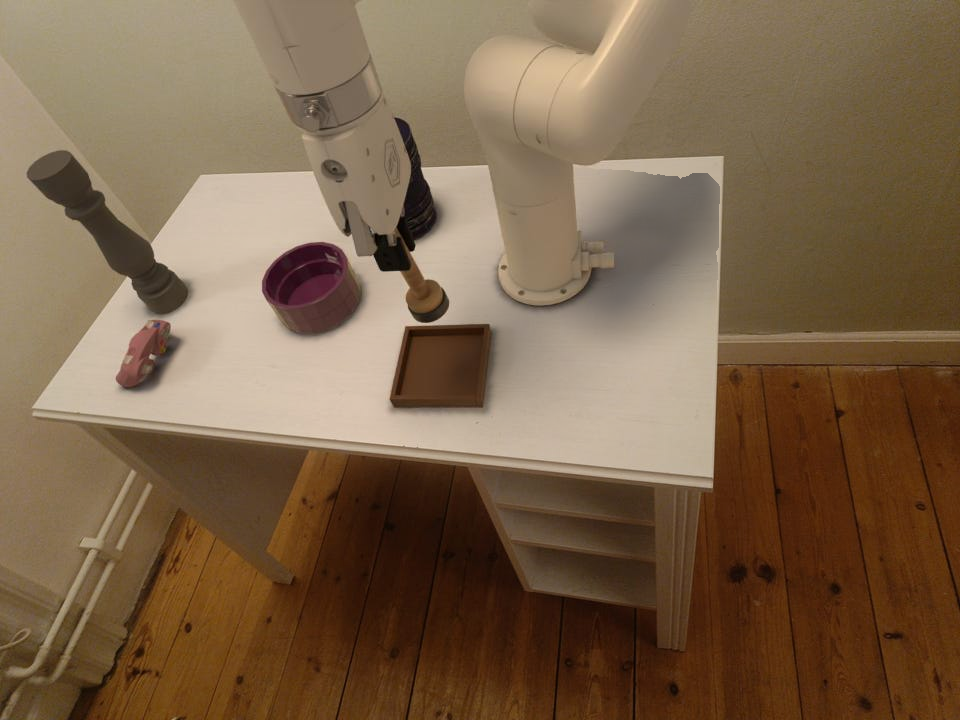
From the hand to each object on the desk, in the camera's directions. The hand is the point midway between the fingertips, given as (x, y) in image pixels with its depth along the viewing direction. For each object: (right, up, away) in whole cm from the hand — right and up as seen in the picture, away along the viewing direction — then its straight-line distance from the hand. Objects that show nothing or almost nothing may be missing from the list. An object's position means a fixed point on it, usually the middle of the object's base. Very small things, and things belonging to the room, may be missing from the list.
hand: (398, 258), depth 61 cm
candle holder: (-40, -1, +33) cm, 52 cm away
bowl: (-15, -2, +27) cm, 31 cm away
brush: (+3, -4, +6) cm, 8 cm away
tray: (+4, -11, +16) cm, 20 cm away
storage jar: (-3, +11, +34) cm, 36 cm away
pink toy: (-38, -11, +26) cm, 47 cm away
